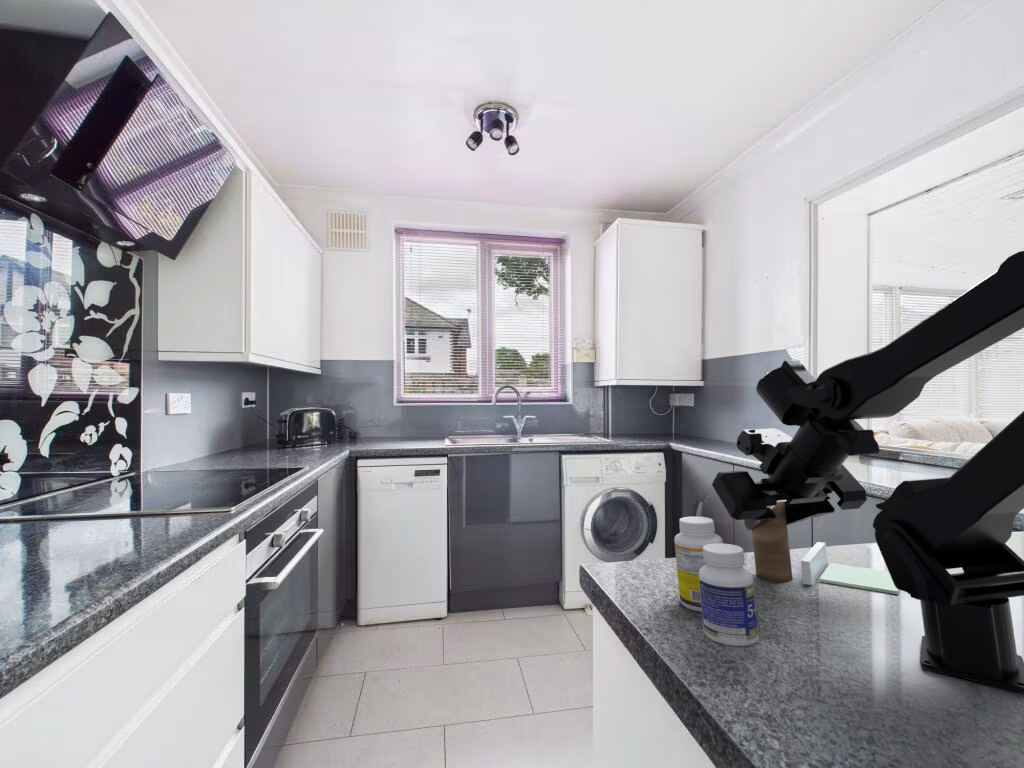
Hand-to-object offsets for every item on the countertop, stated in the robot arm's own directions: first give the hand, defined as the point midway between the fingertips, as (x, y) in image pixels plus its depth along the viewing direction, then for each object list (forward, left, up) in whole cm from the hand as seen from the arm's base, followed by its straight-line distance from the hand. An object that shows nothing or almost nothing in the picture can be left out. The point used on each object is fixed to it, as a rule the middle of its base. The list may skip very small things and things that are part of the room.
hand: (762, 526), depth 65 cm
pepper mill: (-1, -1, -7) cm, 7 cm away
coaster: (+4, -10, -7) cm, 13 cm away
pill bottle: (-22, -2, -7) cm, 23 cm away
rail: (+4, -5, -7) cm, 9 cm away
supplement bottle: (-16, +3, -7) cm, 18 cm away
